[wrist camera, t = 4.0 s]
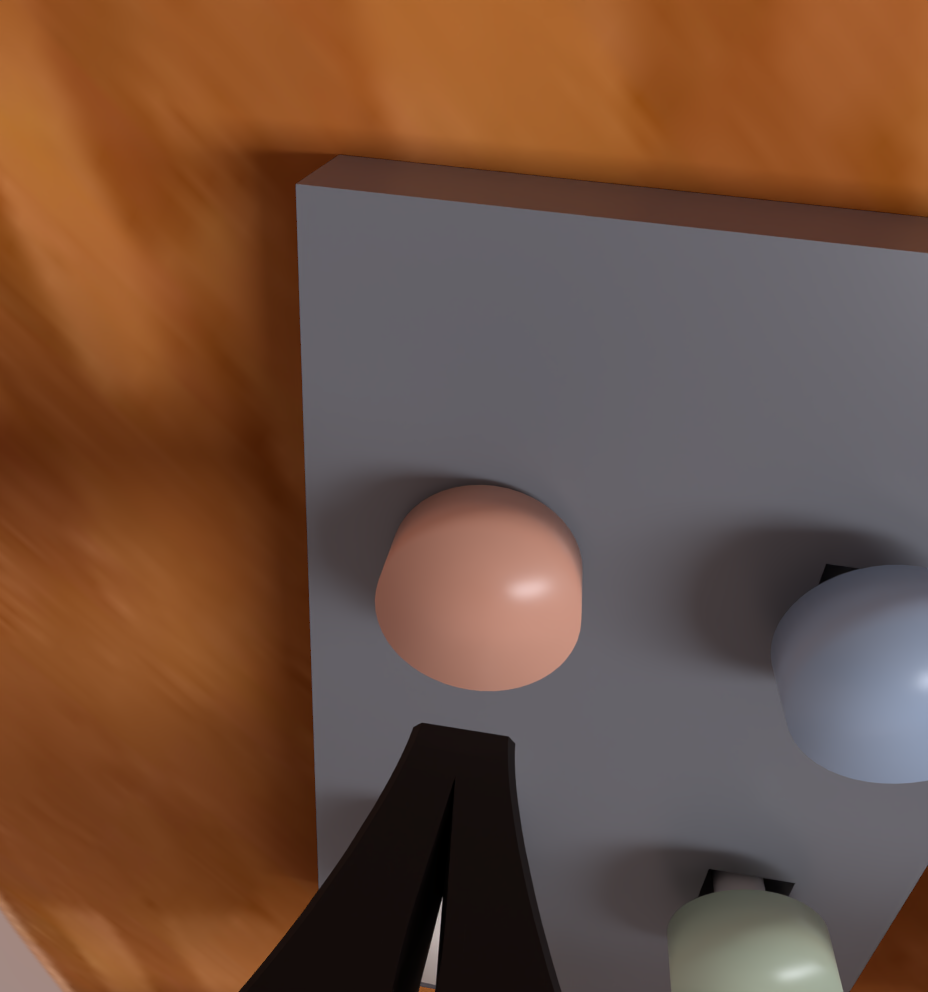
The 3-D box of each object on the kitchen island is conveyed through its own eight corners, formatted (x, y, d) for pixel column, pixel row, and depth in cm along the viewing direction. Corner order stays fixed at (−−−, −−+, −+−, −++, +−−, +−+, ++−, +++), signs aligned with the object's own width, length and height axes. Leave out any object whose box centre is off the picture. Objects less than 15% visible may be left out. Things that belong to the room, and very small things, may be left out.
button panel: (1175, 243, 14) (1281, 291, 11) (791, 967, 25) (808, 1056, 23) (339, 154, 15) (295, 183, 13) (343, 889, 26) (321, 968, 24)
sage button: (827, 819, 20) (868, 969, 17) (785, 906, 22) (815, 1054, 19) (677, 795, 20) (691, 938, 17) (648, 882, 22) (657, 1025, 19)
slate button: (979, 509, 15) (1074, 639, 12) (908, 654, 17) (974, 799, 14) (779, 482, 15) (823, 604, 12) (732, 628, 17) (759, 764, 14)
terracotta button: (597, 441, 16) (596, 545, 13) (570, 584, 18) (565, 704, 15) (416, 417, 17) (377, 514, 14) (410, 561, 19) (372, 674, 16)
